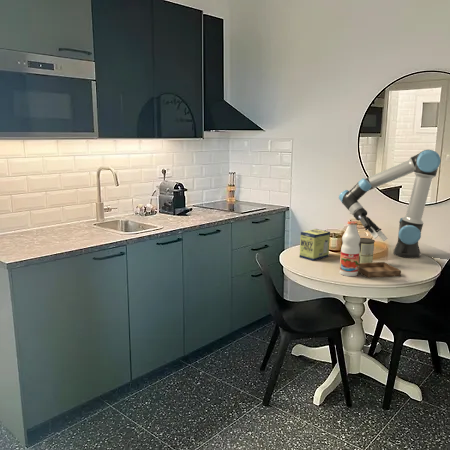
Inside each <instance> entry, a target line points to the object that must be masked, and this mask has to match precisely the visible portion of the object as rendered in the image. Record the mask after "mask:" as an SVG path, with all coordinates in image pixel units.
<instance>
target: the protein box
mask: <svg viewBox="0 0 450 450" xmlns="http://www.w3.org/2000/svg"><path fill="white" fill-rule="evenodd" d="M330 237H331V231H328V230H323V229H318V228H314V229H309V230H304V231H300V241H299V258H300V259H301V258H302V259H304V260H309V261H312V262H315V261H318V260H321V259H325V258H328V257H329V256H330V241H331V240H330V239H331V238H330Z"/></svg>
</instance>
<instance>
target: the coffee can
mask: <svg viewBox="0 0 450 450" xmlns="http://www.w3.org/2000/svg"><path fill="white" fill-rule="evenodd" d="M375 241H376V240H375V239H372V238H369V237H360V243H359V247H360V253H359V263H374V262H373V259H374V248H375Z"/></svg>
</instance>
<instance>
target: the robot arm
mask: <svg viewBox="0 0 450 450" xmlns="http://www.w3.org/2000/svg"><path fill="white" fill-rule="evenodd" d="M441 162H442V161H441V156H440V155H439V153H438V152H437V151H436V150H434V149H424V150H422V151H420V152H418V153H417V154H415V155H413V156H411V157H409V159H408V160H407V161H403V162H401V163H399V164H397V165H395V166H394V165H393V166H391V167H390V168H387V169H384V170H383V171H381V172H378V173H375V174H373V175H371V176H369V177H366V178H365V177H364V178H361V179H360V180H359V181H358V182H357V183H356V184H355V185H354V186H353V187H351V188H350V190H348V189H344V190H343V191H341V192H340V194H339V195H338V200H339V201H340V202H341V204H342V205H343V206H344V207H345V208H346V210H347V211H349V214H350V215H352V216H353V218H355V220H356V221H360V223H361V224H362V226H363V227H364V229H365V231H367V232H369V234H370V235H371V236H372V237H373V238H374V240H375V239H377V238H378V237H379V238H380V239H381V241H383V242H386V240H388V237H387V236H386V235H385V233H383V231H382V228H380V227H379V226H378V225H377V224H376V223H375V222H374V221H373V220H372V219H371V218H370V217H368V216H367V215H368V211H367V210H366V209H365V208H364V206H363V205H362V204H361V203H360V202H359V200H360V199H361V198H362V197H363V196H364V195H365V194H366V193H368V192H369V191H371V190H373V189H376V188H379V187H380V186H383V185H386V184H387V183H391V182H393V181H395V180H397V179H400V178H402V177H405V176H407V175H410V174H412V173H414V175H415V178H414V182H413V186H412V190H411V194H410V197H409V203H408V206H407V210H406V213H405V216H404V217H401V218H400V219H399V221H398V222H399V227H398V236H397V243H396V245H395V247H394V249H393V255H394V256H398V257H401V258H405V259H407V258H408V259H414V258H415V259H417V258H420V257H421V251H420V247H419V241H420V239H421V238H422V231H423V227H424V221H423V220H422V218H423V215H424V210H425V207H426V203H427V199H428V195H429V191H430V189H431V185H432V181H433V179H434V178H436V176H437V173H438V169H439V167H440V166H441V165H440V164H441Z"/></svg>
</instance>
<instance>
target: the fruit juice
mask: <svg viewBox="0 0 450 450" xmlns="http://www.w3.org/2000/svg"><path fill="white" fill-rule="evenodd" d="M346 225H347V227H346V230H345V232H344V233H343V234H342V237H341V241H342V245H341V249H340V259H339V260H340V261H339V274H340V275H342V276H345V277H356V276H357V275H358V274H359V273H358V265H359V253H360V247H359V243H360V238H361V235H360V234H359V230H358V227H357V226H358V222H357V221H355V220H354V221H353V220H348V221H347V224H346Z"/></svg>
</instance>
